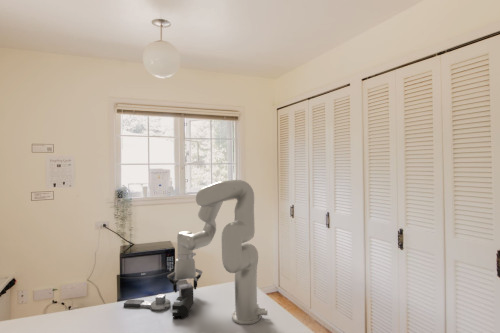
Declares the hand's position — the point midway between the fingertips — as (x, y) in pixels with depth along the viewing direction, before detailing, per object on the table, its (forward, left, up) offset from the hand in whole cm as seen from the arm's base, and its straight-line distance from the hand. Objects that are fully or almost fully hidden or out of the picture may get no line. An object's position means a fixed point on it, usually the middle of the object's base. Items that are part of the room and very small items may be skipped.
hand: (185, 290), depth 150 cm
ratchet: (+15, +10, -4) cm, 19 cm away
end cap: (-5, +16, -4) cm, 18 cm away
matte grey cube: (-1, 0, -4) cm, 4 cm away
